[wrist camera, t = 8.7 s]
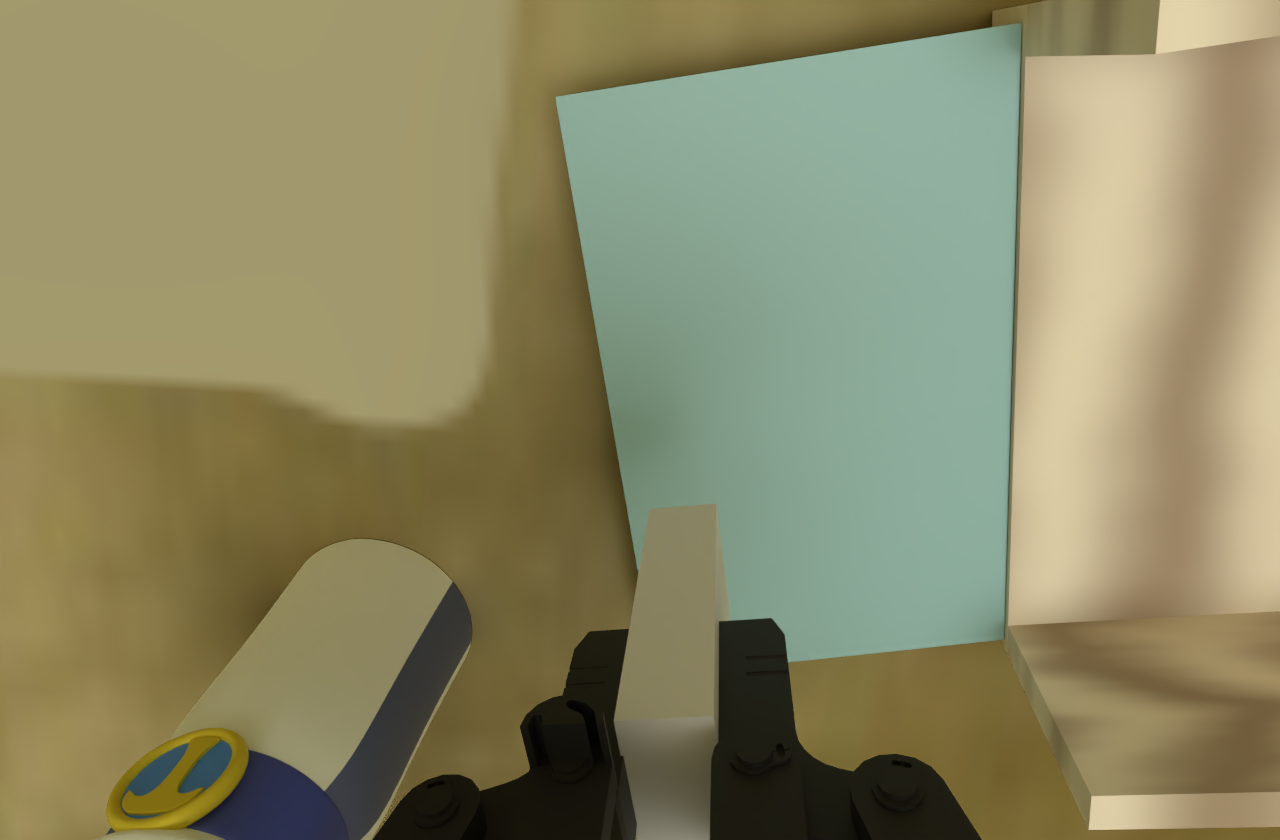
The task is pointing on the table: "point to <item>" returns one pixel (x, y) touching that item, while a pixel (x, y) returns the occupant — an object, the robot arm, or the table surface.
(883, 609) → the teal flat panel
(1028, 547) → the crate
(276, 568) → the table surface
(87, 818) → the table surface
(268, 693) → the blue-banded white tube
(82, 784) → the table surface
